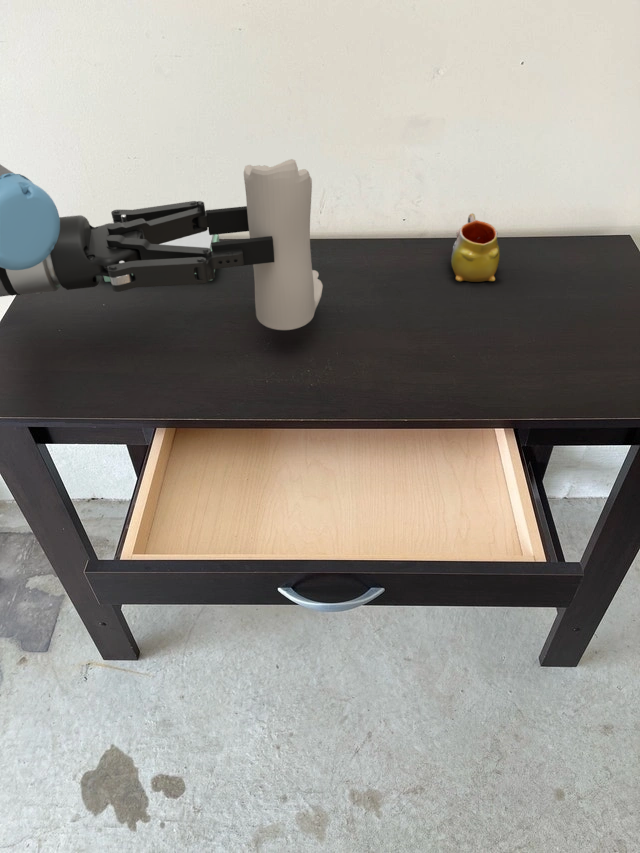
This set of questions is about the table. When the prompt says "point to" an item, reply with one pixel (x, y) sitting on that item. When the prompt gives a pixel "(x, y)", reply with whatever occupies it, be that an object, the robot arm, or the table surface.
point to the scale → (190, 243)
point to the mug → (475, 252)
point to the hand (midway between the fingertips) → (268, 232)
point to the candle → (283, 244)
